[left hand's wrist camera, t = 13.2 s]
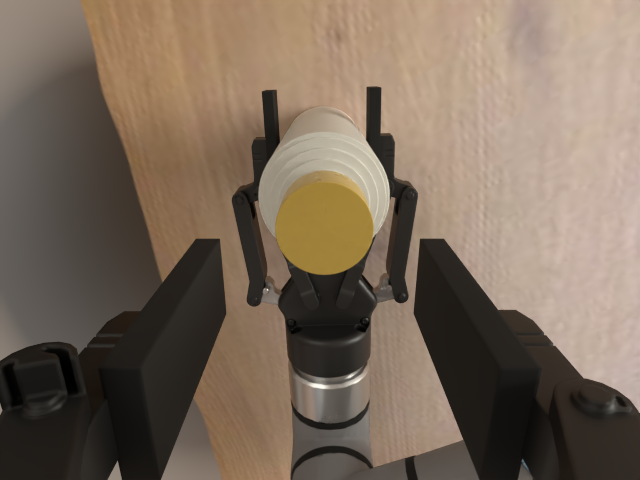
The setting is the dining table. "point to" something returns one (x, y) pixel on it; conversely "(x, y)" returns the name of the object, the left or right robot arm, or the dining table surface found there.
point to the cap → (324, 223)
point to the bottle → (323, 162)
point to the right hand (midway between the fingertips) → (321, 89)
